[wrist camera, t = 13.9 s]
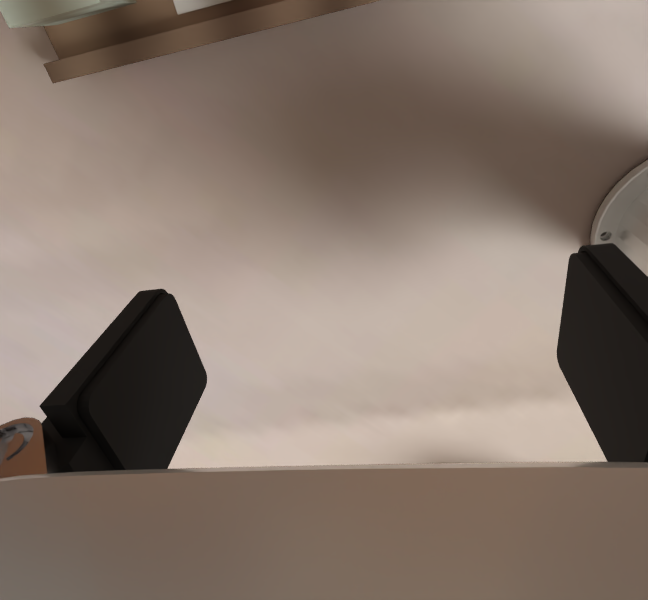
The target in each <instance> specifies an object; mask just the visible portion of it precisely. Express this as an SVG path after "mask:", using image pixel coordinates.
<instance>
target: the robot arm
mask: <svg viewBox="0 0 648 600" xmlns="http://www.w3.org/2000/svg"><path fill="white" fill-rule="evenodd" d="M590 239H591V245H587V246H582V247H581V248H580V249H579V251H578V253H573V254H571V256H570V258H569V264H568V271H567V279H566V286H565V294H564V301H563V309H562V316H561V324H560V331H559V339H558V346H557V359H558V363H559V366H560V368H561V370H562V372H563V374H564V376H565V378H566V380H567V382H568V384H569V386H570V388H571V390H572V392H573V394H574V396H575V398H576V400H577V402H578V404H579V406H580V408H581V410H582V412H583V414H584V416H585V418H586V420H587V422H588V424H589V426H590V428H591V430H592V431H593V433H594V435H595V437H596V439H597V441H598V443H599V445H600V447H601V449H602V451H603V453H604V455H605V457H606V459H607V461H608V462H505V463H435V464H372V465H319V466H270V467H225V468H186V469H167V468H168V466H169V464H170V462H171V460H172V458H173V455H174V453H175V451H176V449H177V447H178V445H179V443H180V440H181V438H182V436H183V434H184V432H185V430H186V428H187V426H188V423H189V421H190V419H191V417H192V415H193V413H194V411H195V408H196V406H197V404H198V402H199V400H200V398H201V396H202V394H203V391H204V389H205V387H206V384H207V375H206V371H205V369H204V367H203V364H202V362H201V359H200V357H199V355H198V352H197V350H196V347H195V345H194V343H193V340H192V338H191V335H190V333H189V331H188V328H187V326H186V323H185V321H184V319H183V316H182V314H181V311H180V309H179V307H178V304H177V302H176V300H175V298H174V296H173V295H172V294H168V293H167V292H166V291H165V290H164V289H156V290H146V291H140V292H139V293H137V294H136V296H135V297H134V298H133V299H132V300H131V301H130V303H129V304H128V305H127V306H126V307H125V308H124V309H123V311H122V312H121V313H120V314H119V315H118V316H117V317H116V319H115V320H114V321H113V322H112V323H111V324H110V326H109V327H108V328H107V329H106V330H105V331H104V332H103V334H102V335H101V336H100V337H99V338H98V339H97V340H96V342H95V343H94V344H93V345H92V346H91V347H90V349H89V350H88V351H87V352H86V353H85V354H84V355H83V357H82V358H81V359H80V360H79V361H78V362H77V364H76V365H75V366H74V367H73V368H72V369H71V370H70V372H69V373H68V374H67V375H66V376H65V377H64V378H63V380H62V381H61V382H60V383H59V384H58V385H57V387H56V388H55V389H54V390H53V391H52V392H51V393H50V395H49V396H48V397H47V398H46V399H45V400H44V401H43V403H42V404H41V405H40V408H41V409H42V410H43V412H44V413H45V415H46V416H47V418H46V419H45V420H44V421H43V423H42V424H41V422H40V421H39V420H37V419H35V418H20V419H16V420H12V421H10V422H7V423H5V424H2V425H1V426H0V600H648V160H646V161H645V162H643V163H642V164H640V165H639V166H637V167H636V168H634V169H633V170H631V171H630V172H629V173H628V174H627V175H626V176H625V177H624V178H622V179H621V180H620V181H619V182H618V183H617V184H616V185H615V187H614V188H613V189H612V190H611V191H610V193H609V194H608V195H607V196H606V198H605V199H604V201H603V203H602V204H601V206H600V208H599V209H598V211H597V214H596V216H595V219H594V221H593V225H592V230H591V236H590Z"/></svg>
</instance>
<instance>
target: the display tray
mask: <svg viewBox="0 0 648 600" xmlns="http://www.w3.org/2000/svg"><path fill="white" fill-rule="evenodd" d="M376 1H380V0H0V11H1V13H2V15H3V17H4V19H5V21H6V23H7V25H8V27H9V28H20V27H35V26H44V28H45V30H46V32H47V34H48V37H49V39H50V41H51V43H52V45H53V47H54V49H55V51H56V53H57V56H58V58H59V60H57V61H53V62H49V63H45V64H44V66H45V68H46V70H47V72H48V74H49V76H50V78H51V80H52V82H53V83H56V82H60V81H64V80H68V79H72V78H76V77H80V76H84V75H88V74H92V73H96V72H100V71H104V70H107V69H111V68H115V67H119V66H123V65H127V64H131V63H135V62H139V61H143V60H147V59H151V58H155V57H159V56H163V55H167V54H171V53H175V52H178V51H182V50H186V49H190V48H194V47H198V46H202V45H206V44H210V43H214V42H218V41H222V40H226V39H230V38H234V37H238V36H242V35H246V34H249V33H253V32H257V31H261V30H265V29H269V28H273V27H277V26H281V25H285V24H289V23H293V22H297V21H301V20H305V19H309V18H313V17H317V16H320V15H324V14H328V13H332V12H336V11H340V10H344V9H348V8H352V7H356V6H360V5H364V4H368V3H372V2H376Z"/></svg>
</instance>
